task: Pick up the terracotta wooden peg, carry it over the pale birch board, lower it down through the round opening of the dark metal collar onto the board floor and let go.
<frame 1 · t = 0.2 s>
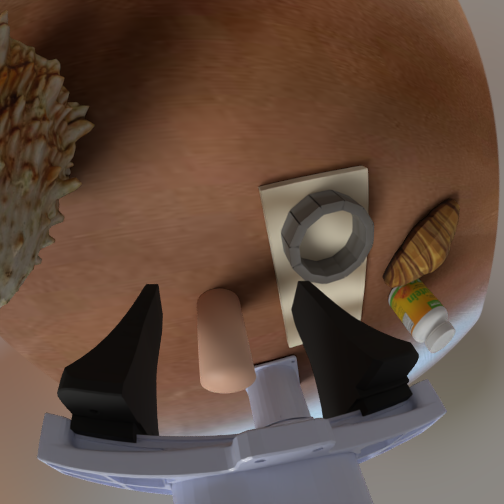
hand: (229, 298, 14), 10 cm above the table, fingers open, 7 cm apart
holder board: (321, 269, 27), on the table
supplement bottle: (402, 289, 32), on the table
croissant: (416, 236, 28), on the table
seashell: (34, 143, 15), on the table
peg: (218, 305, 27), on the table
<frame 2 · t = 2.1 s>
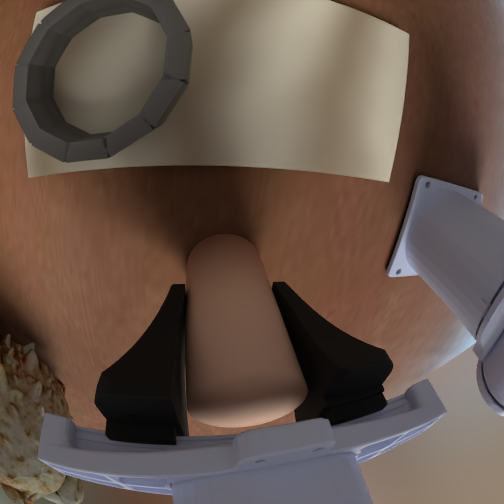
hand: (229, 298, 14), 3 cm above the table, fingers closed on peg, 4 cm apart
holder board: (217, 68, 10), on the table
seashell: (20, 354, 18), on the table
peg: (223, 266, 16), on the table, touching gripper
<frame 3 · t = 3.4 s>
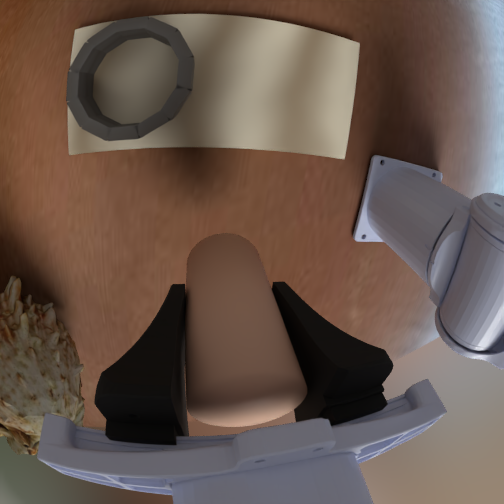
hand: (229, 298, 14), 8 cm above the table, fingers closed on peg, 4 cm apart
holder board: (212, 79, 15), on the table
seashell: (36, 318, 22), on the table
peg: (223, 266, 16), point 6 cm above the table, touching gripper
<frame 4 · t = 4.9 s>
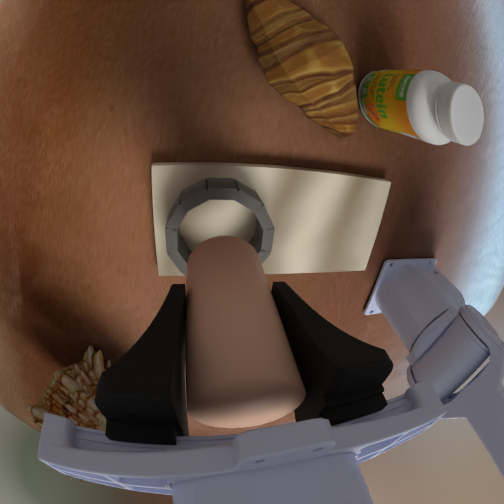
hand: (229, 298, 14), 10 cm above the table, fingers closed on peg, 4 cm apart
holder board: (276, 220, 23), on the table
supplement bottle: (380, 99, 18), on the table
croissant: (296, 64, 17), on the table
seashell: (107, 371, 30), on the table
peg: (223, 268, 16), point 7 cm above the table, touching gripper
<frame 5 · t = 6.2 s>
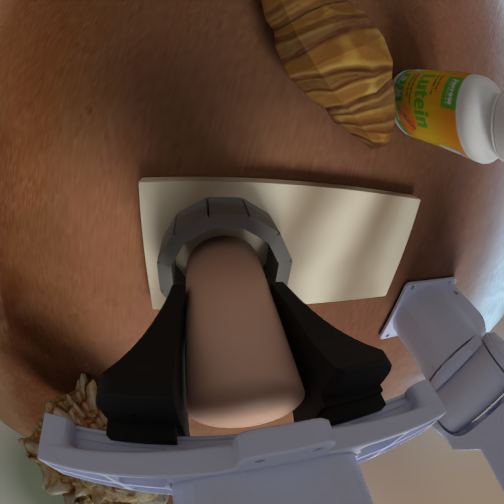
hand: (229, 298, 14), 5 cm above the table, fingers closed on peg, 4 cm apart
holder board: (291, 245, 19), on the table
supplement bottle: (411, 103, 15), on the table
croissant: (320, 56, 13), on the table
seashell: (102, 397, 27), on the table
peg: (223, 267, 16), point 2 cm above the table, touching gripper
when the fingers open (5 cm above the table, at t = 6.4 s): peg drops 1 cm, resting on holder board.
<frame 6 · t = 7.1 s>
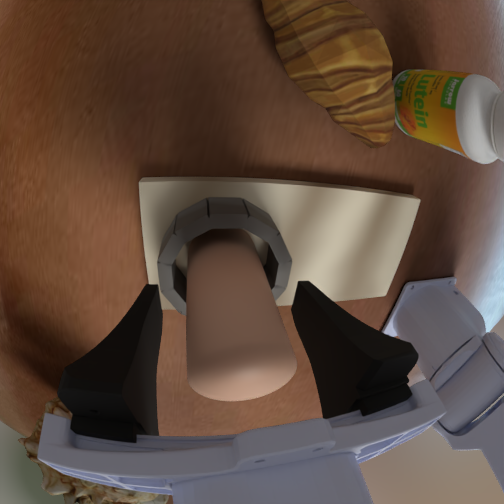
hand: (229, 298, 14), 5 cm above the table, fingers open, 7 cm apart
holder board: (291, 245, 19), on the table
supplement bottle: (411, 103, 15), on the table
croissant: (320, 56, 13), on the table
seashell: (103, 397, 27), on the table
peg: (222, 255, 17), point 1 cm above the table, touching holder board
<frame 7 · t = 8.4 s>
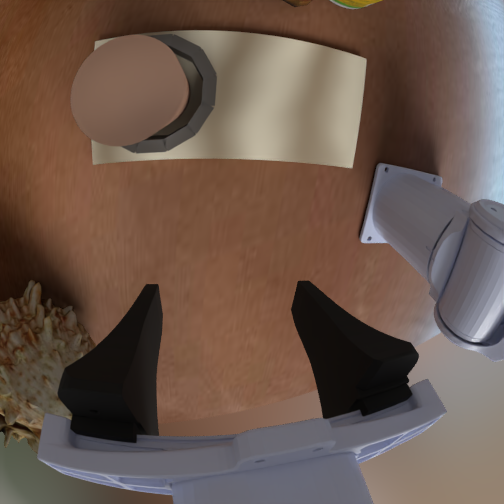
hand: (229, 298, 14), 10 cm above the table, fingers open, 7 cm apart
holder board: (230, 93, 17), on the table
seashell: (54, 321, 24), on the table
peg: (158, 95, 15), point 1 cm above the table, touching holder board
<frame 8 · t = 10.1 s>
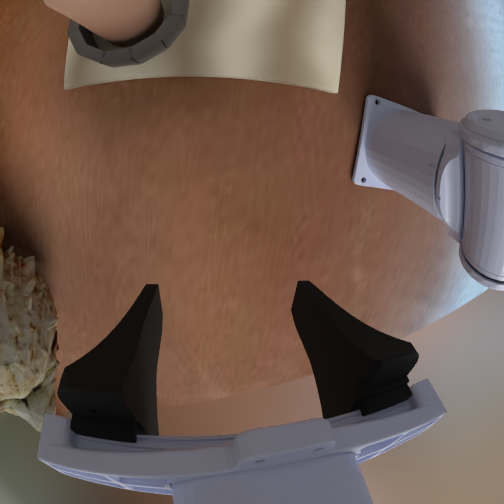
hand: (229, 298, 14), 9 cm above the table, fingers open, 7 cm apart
holder board: (205, 19, 13), on the table
seashell: (19, 277, 21), on the table
peg: (132, 20, 11), point 1 cm above the table, touching holder board
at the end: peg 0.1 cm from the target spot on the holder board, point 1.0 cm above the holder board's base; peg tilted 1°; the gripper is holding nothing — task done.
